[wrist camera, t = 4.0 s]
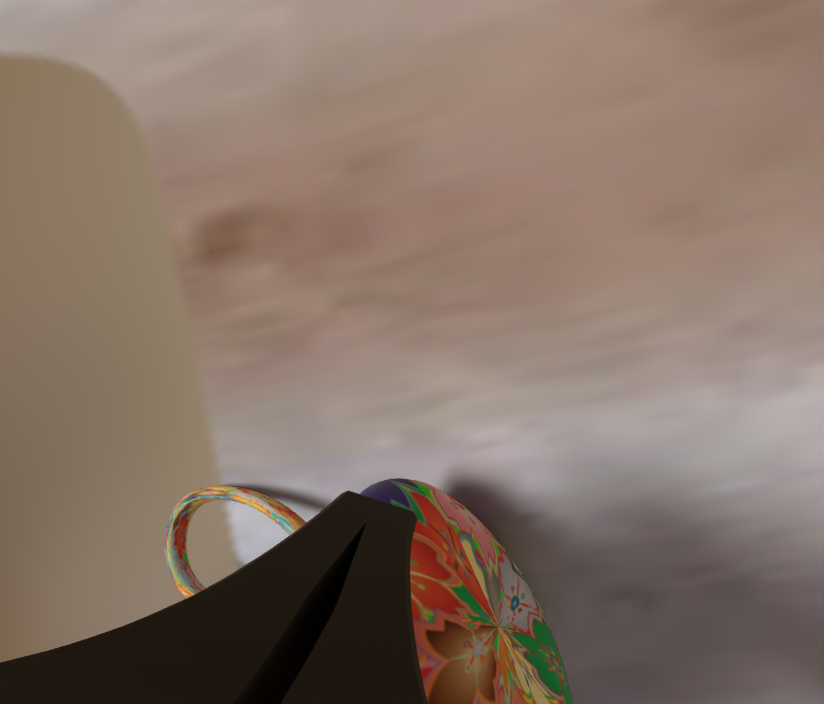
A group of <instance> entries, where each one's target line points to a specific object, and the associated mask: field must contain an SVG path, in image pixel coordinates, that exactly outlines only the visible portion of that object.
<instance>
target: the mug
mask: <svg viewBox="0 0 824 704" xmlns="http://www.w3.org/2000/svg"><path fill="white" fill-rule="evenodd" d="M360 494H361V495H364V496H367V497H370V498H373V499H376V500H379V501H383V502H386V503H389V504H392V505H395V506H398V507H401V508H405V509H408V510H411V511H413V512H414V513H415V515H416V517H417V518H418V519H417V523H416V527H415V531H414V535H413V539H412V545H411V559H410V582H411V604H412V615H413V624H414V632H415V640H416V647H417V653H418V659H419V665H420V670H421V675H422V680H423V684H424V689H425V693H426V697H427V701H428V704H573V700H572V696H571V692H570V688H569V684H568V680H567V676H566V673H565V669H564V666H563V663H562V660H561V657H560V654H559V651H558V648H557V645H556V643H555V640H554V637H553V635H552V632H551V630H550V628H549V625H548V623H547V621H546V619H545V616H544V614H543V612H542V610H541V608H540V606H539V604H538V602H537V600H536V598H535V596H534V595H533V593H532V591H531V589H530V587H529V586H528V584H527V582H526V581H525V579H524V577H523V576H522V574H521V572H520V571H519V569H518V568H517V566H516V565H515V563H514V562H513V561H512V559H511V558H510V556H509V555H508V554H507V552H506V551H505V550H504V548H503V547H502V546H501V545H500V543H499V542H498V541H497V540H496V538H495V537H494V536H493V535H492V534H491V532H490V531H489V530H488V529H487V528H486V527H485V526H484V525H483V524H482V523H481V522H480V521H479V520H478V519H477V518H476V517H475V516H474V515H473V514H472V513H471V512H470V511H469V510H468V509H467V508H465V507H464V506H463V505H462V504H460V503H459V502H458V501H456V500H455V499H453V498H452V497H450V496H449V495H447V494H446V493H444V492H442V491H441V490H439V489H437V488H435V487H433V486H431V485H428V484H426V483H423V482H419V481H416V480H409V479H401V478H399V479H389V480H384V481H381V482H378V483H376V484H373V485H371V486H369V487H368V488H366V489H365V490H363V491H362V492H361V493H360ZM216 499H227V500H233V501H237V502H240V503H243V504H246V505H249V506H251V507H253V508H255V509H257V510H259V511H261V512H262V513H264V514H266V515H267V516H269V517H270V518H271V519H273V520H274V521H275V522H276V523H278V524H279V525H280V526H281V527H282V528H283V529H285V530H286V531H287V532H288V533H289V534H290V535H291V534H292V533H294V532H295V531H297V530H298V529H299V528H301V527H302V526H303V525H305V524H306V522H305V521H304V520H303V519H302V518H301V517H300V516H299V515H297V514H296V513H295V512H293V511H292V510H291V509H290V508H288V507H287V506H285V505H283V504H282V503H280V502H279V501H277V500H275V499H273V498H271V497H269V496H267V495H264V494H262V493H259V492H256V491H253V490H250V489H245V488H241V487H234V486H212V487H206V488H201V489H199V490H196V491H193V492H191V493H190V494H188V495H186V496H185V497H184V498H183V499H182V500H181V501H180V502H179V503H178V504H177V505H176V506H175V508H174V510H173V511H172V513H171V516H170V518H169V521H168V525H167V528H166V534H165V556H166V562H167V566H168V569H169V572H170V575H171V577H172V579H173V581H174V583H175V585H176V587H177V588H178V589H179V591H180V592H181V593H182V594H183V595H184V596H185V597H186V598H188V597H190V596H192V595H194V594H196V593H198V592H200V591H202V590H204V589H206V588H205V587H204V586H203V585H202V584H201V583H200V582H199V581H198V579H197V578H196V576H195V575H194V573H193V571H192V569H191V566H190V564H189V560H188V555H187V545H186V540H187V531H188V526H189V522H190V520H191V517H192V516H193V514H194V513H195V511H196V510H197V509H198V508H199V507H200V506H201V505H203V504H204V503H206V502H208V501H211V500H216Z"/></svg>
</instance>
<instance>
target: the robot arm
mask: <svg viewBox="0 0 824 704" xmlns="http://www.w3.org/2000/svg"><path fill="white" fill-rule="evenodd" d="M417 519H418V518H417V517H416V515H415V513H414V512H413V511H411V510H408V509H405V508H401V507H398V506H395V505H392V504H389V503H386V502H383V501H379V500H376V499H373V498H370V497H367V496H364V495H361V494H357V493H354V492H351V491H347V492H344V493H342V494H341V495H340V496H339V497H337V498H336V499H335V500H334V501H333V502H332V503H331V504H329V505H328V506H327V507H326V508H325V509H323V510H322V511H321V512H320V513H319V514H317V515H316V516H315V517H314V518H312V519H311V520H310V521H308V522H307V523H306V524H305V525H303V526H302V527H301V528H299V529H298V530H297V531H295V532H294V533H292V534H291V535H290V536H288V537H287V538H286V539H284V540H283V541H281V542H280V543H279V544H277V545H276V546H274V547H273V548H272V549H270V550H269V551H267V552H266V553H264V554H262V555H261V556H259V557H258V558H256V559H255V560H253V561H251V562H250V563H248V564H247V565H245V566H244V567H242V568H240V569H239V570H237V571H236V572H234V573H233V574H231V575H229V576H227V577H225V578H224V579H222V580H220V581H219V582H217V583H215V584H213V585H211V586H209V587H208V588H206V589H204V590H202V591H200V592H198V593H196V594H194V595H192V596H190V597H188V598H186V599H184V600H182V601H180V602H178V603H176V604H173V605H171V606H169V607H167V608H165V609H162V610H161V611H158V612H156V613H153V614H151V615H149V616H147V617H144V618H142V619H140V620H137V621H135V622H133V623H130V624H127V625H125V626H122V627H119V628H117V629H114V630H111V631H108V632H105V633H102V634H99V635H97V636H94V637H91V638H88V639H85V640H81V641H78V642H75V643H72V644H69V645H66V646H62V647H59V648H55V649H52V650H49V651H45V652H41V653H37V654H33V655H29V656H25V657H21V658H17V659H13V660H10V661H5V662H2V663H0V704H428V701H427V697H426V693H425V689H424V684H423V680H422V675H421V670H420V665H419V659H418V653H417V647H416V640H415V632H414V624H413V615H412V604H411V582H410V559H411V545H412V539H413V535H414V531H415V527H416V523H417Z"/></svg>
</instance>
